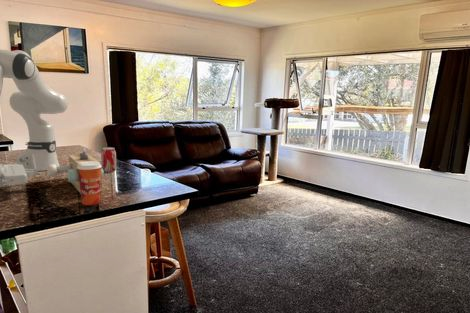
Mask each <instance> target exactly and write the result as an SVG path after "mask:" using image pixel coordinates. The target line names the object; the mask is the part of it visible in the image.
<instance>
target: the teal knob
mask: <svg viewBox="0 0 470 313" xmlns="http://www.w3.org/2000/svg"><path fill="white" fill-rule="evenodd" d="M101 171H102V177H103V176H104V175H105V174H104V173H105V172H104V171H103V169H102V168H101ZM78 178H79V174H78V171H77V169H71V170H68V172H67V180H68V183H71V182H76V181H78Z"/></svg>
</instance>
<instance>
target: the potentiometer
mask: <svg viewBox="0 0 470 313" xmlns="http://www.w3.org/2000/svg"><path fill="white" fill-rule="evenodd" d="M88 154H89V153H88V152H86V148H82V152H79V155H80V160H87V159H88Z"/></svg>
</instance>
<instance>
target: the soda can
mask: <svg viewBox="0 0 470 313" xmlns="http://www.w3.org/2000/svg"><path fill="white" fill-rule="evenodd" d="M100 154H101V155H100V156H101V166H102V167H101V169H103V171H104V173H114V172H115V171H116V170H117V152H116V150H115V147H111V146H107V147H103V148H102V149H101V152H100ZM113 171H114V172H113Z"/></svg>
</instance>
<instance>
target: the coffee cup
mask: <svg viewBox="0 0 470 313" xmlns="http://www.w3.org/2000/svg"><path fill="white" fill-rule="evenodd" d="M99 162H100V161H99ZM99 162H96V161H87V162H81V163H78V166H77V169H78V174H79V183H80V191H81V193H80V196H81V198H80V199H81V204H82V205H83V206H96V205H99V203H100V201H101V192H100V168H101V169H102V163H101V162H100V163H101V164H100V163H99Z"/></svg>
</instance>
